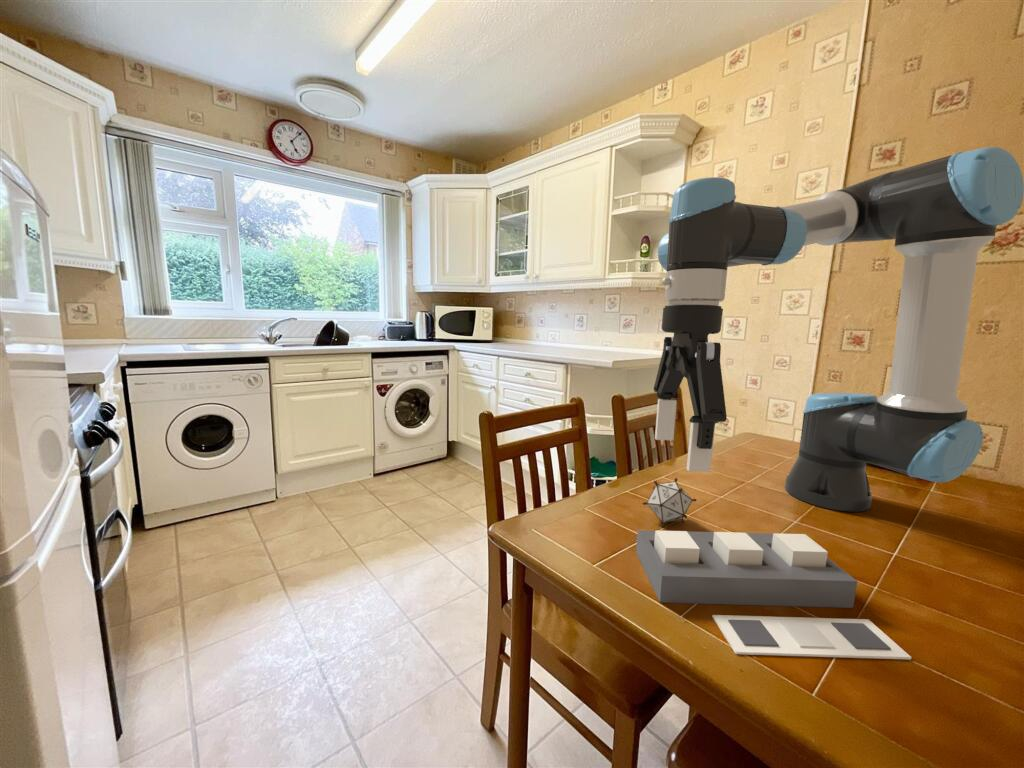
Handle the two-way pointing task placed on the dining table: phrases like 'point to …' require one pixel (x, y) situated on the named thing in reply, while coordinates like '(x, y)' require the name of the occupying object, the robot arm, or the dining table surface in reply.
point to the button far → (676, 547)
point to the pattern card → (807, 637)
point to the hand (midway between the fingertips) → (679, 453)
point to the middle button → (737, 549)
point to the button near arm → (799, 550)
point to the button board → (743, 578)
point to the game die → (669, 502)
